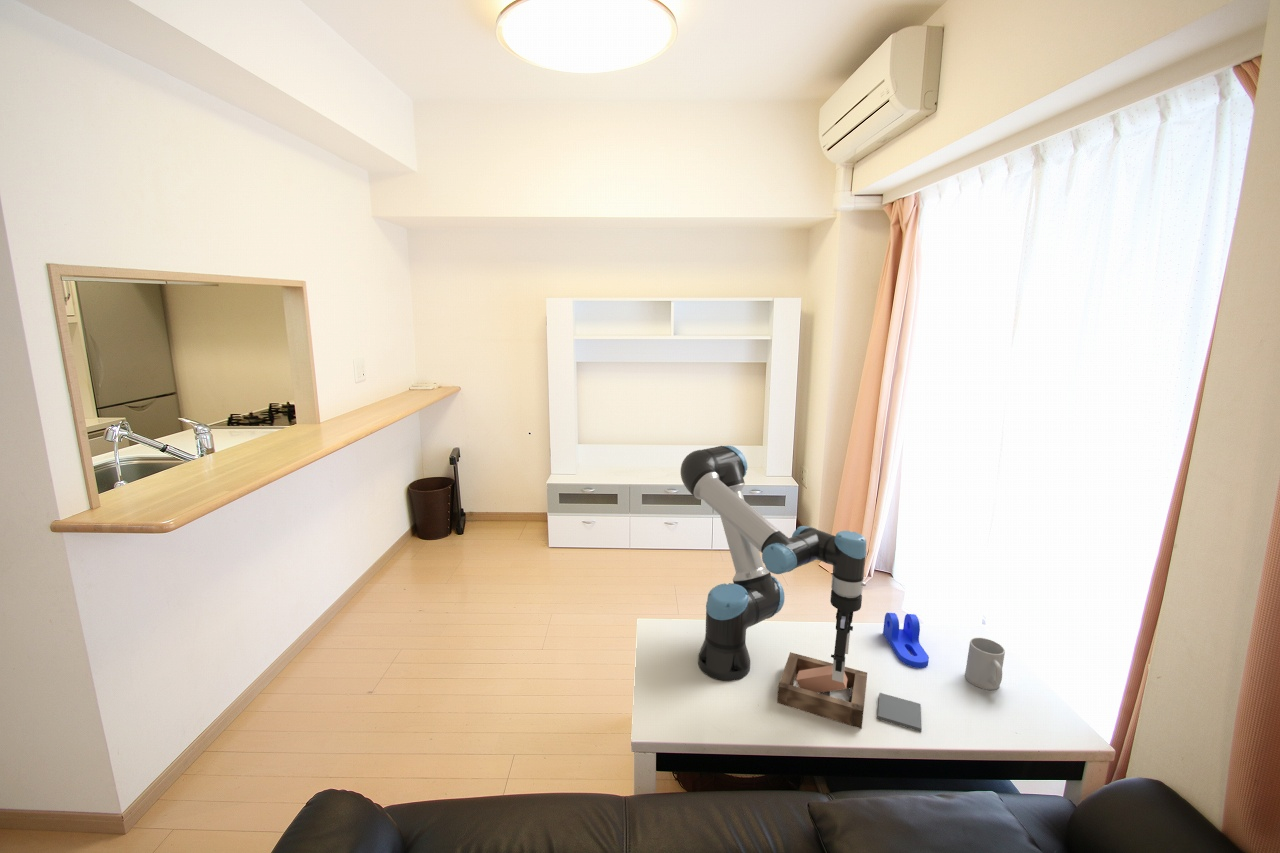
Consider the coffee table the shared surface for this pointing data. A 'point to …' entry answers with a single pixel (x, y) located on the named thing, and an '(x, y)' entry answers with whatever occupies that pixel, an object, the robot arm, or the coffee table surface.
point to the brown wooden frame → (823, 702)
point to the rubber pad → (899, 712)
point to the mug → (985, 663)
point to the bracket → (905, 640)
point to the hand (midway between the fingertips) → (840, 665)
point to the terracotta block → (819, 680)
